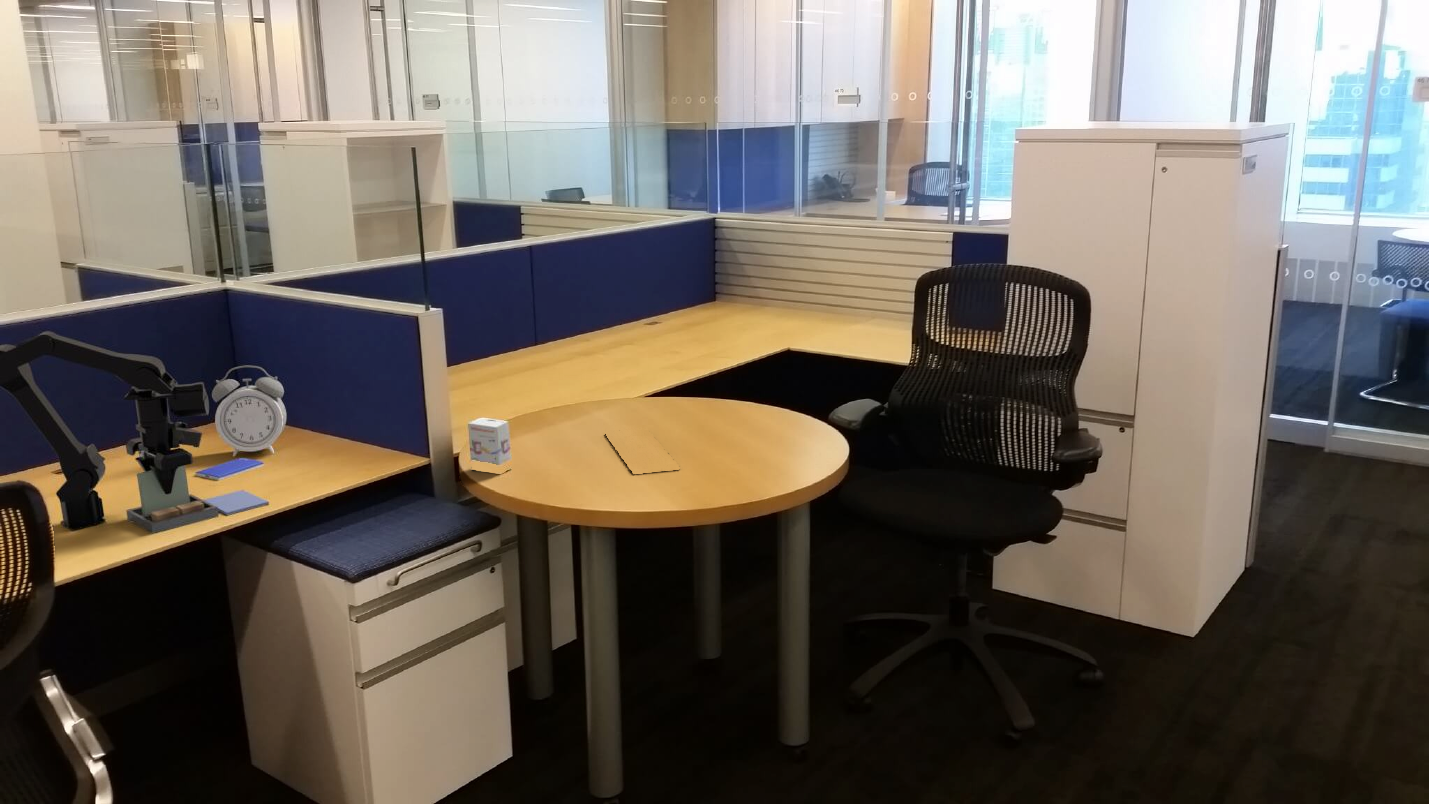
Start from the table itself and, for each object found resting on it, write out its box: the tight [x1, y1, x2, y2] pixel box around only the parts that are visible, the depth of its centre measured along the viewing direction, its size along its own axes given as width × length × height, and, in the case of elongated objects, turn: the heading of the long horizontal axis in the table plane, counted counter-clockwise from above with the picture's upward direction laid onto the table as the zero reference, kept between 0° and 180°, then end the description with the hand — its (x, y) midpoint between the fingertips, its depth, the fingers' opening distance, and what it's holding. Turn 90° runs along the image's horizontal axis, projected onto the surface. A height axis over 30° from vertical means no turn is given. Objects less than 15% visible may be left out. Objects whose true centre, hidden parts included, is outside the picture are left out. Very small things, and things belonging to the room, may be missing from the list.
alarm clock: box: [211, 365, 287, 457], centre depth 270 cm, size 16×9×22 cm, turn 104°
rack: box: [125, 493, 220, 534], centre depth 227 cm, size 13×13×2 cm
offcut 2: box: [176, 501, 204, 515], centre depth 227 cm, size 4×3×3 cm
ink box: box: [467, 417, 512, 465], centre depth 255 cm, size 9×5×12 cm, turn 65°
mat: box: [203, 489, 270, 516], centre depth 235 cm, size 9×12×1 cm
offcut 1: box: [151, 507, 180, 522], centre depth 223 cm, size 4×3×3 cm
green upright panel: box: [136, 465, 190, 515], centre depth 228 cm, size 9×2×10 cm, turn 138°
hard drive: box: [195, 457, 265, 481], centre depth 258 cm, size 2×8×12 cm
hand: (164, 491), depth 228 cm, fingers open, 4 cm apart
